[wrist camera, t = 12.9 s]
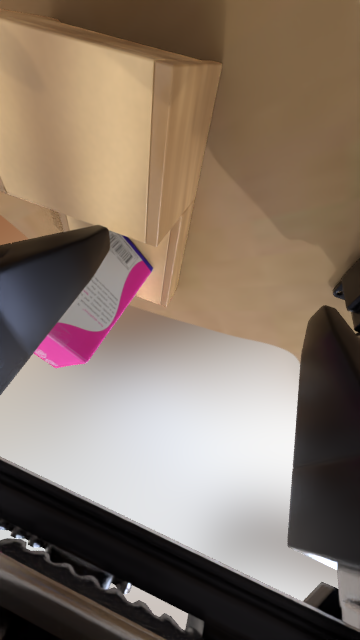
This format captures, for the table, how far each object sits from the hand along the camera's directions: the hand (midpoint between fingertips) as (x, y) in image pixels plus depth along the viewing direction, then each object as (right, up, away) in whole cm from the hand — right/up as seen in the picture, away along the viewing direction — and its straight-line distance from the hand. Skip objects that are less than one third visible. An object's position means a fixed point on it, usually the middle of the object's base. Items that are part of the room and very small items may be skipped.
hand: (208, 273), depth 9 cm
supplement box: (-7, +5, +14) cm, 17 cm away
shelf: (-6, +10, +13) cm, 17 cm away
